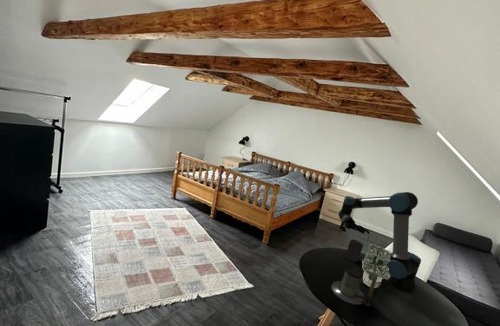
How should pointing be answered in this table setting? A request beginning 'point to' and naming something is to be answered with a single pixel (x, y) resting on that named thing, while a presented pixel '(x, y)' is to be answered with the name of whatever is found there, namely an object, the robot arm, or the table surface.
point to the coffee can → (351, 281)
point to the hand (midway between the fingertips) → (358, 235)
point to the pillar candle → (354, 250)
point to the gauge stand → (374, 278)
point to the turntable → (351, 300)
